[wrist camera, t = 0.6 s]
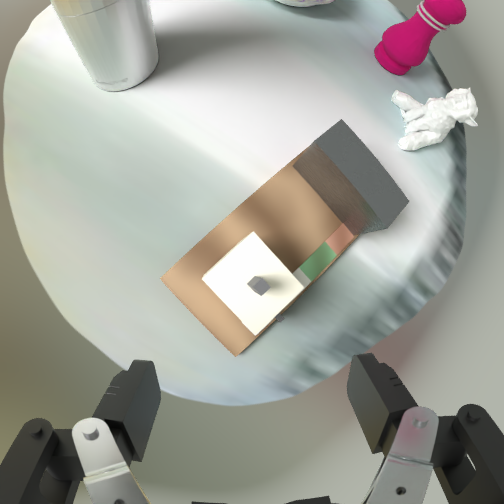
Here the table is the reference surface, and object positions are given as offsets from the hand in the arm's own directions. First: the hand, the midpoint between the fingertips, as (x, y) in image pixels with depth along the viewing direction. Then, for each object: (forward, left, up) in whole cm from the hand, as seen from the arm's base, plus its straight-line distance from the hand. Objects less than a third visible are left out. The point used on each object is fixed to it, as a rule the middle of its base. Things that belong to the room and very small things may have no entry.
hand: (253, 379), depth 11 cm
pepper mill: (-39, +22, -20) cm, 48 cm away
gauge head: (-2, +2, -18) cm, 18 cm away
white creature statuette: (-27, +25, -20) cm, 41 cm away
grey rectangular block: (-14, +11, -18) cm, 25 cm away
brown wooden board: (-7, +5, -20) cm, 21 cm away
